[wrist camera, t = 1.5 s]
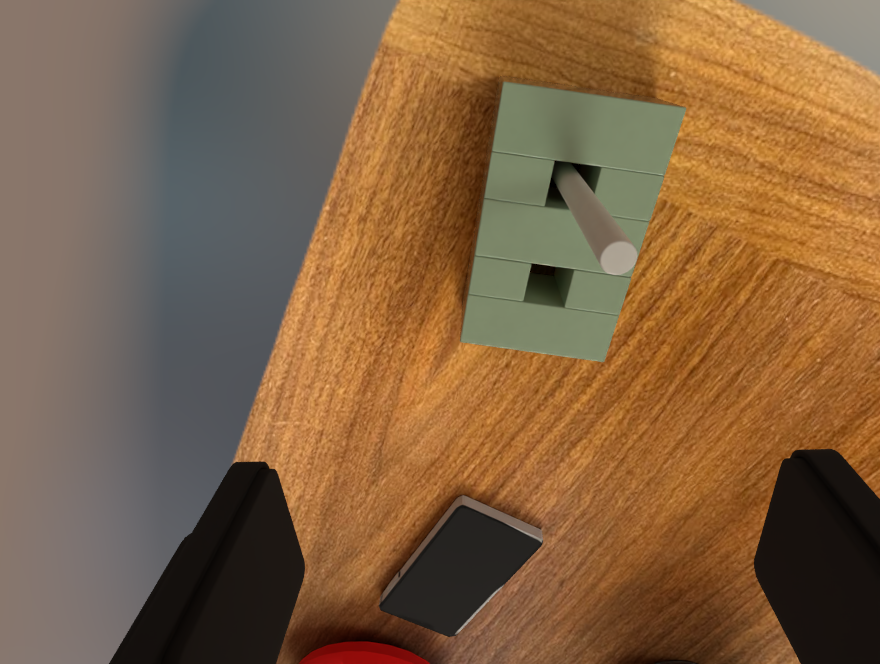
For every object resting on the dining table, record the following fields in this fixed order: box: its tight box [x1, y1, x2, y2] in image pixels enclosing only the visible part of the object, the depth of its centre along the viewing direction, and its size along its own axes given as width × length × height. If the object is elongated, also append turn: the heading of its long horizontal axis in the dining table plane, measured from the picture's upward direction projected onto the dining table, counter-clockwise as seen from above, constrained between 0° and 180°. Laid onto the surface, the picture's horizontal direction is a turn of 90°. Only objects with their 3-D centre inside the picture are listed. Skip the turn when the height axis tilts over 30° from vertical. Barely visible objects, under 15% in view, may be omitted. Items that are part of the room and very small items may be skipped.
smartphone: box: [379, 495, 543, 637], centre depth 45 cm, size 8×1×15 cm
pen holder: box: [460, 76, 686, 362], centre depth 29 cm, size 13×8×4 cm, turn 173°
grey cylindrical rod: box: [551, 161, 637, 275], centre depth 23 cm, size 1×1×14 cm
